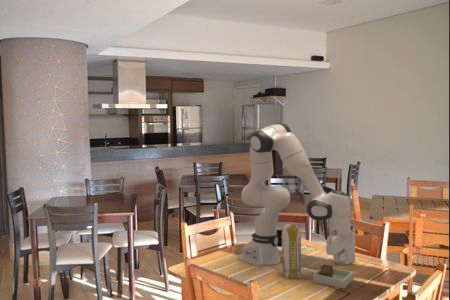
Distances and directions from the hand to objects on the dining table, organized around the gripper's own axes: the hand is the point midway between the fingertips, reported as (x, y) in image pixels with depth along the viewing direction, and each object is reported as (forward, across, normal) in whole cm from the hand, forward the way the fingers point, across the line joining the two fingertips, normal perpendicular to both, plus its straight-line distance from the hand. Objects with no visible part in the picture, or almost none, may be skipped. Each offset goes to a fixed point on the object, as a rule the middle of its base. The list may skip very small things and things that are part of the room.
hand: (339, 259), depth 173 cm
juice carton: (+11, -4, +21) cm, 24 cm away
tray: (+10, +1, +3) cm, 11 cm away
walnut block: (+10, +1, +6) cm, 12 cm away
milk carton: (+10, +27, +8) cm, 30 cm away
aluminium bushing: (+2, 0, 0) cm, 2 cm away
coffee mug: (+10, +34, +48) cm, 59 cm away
